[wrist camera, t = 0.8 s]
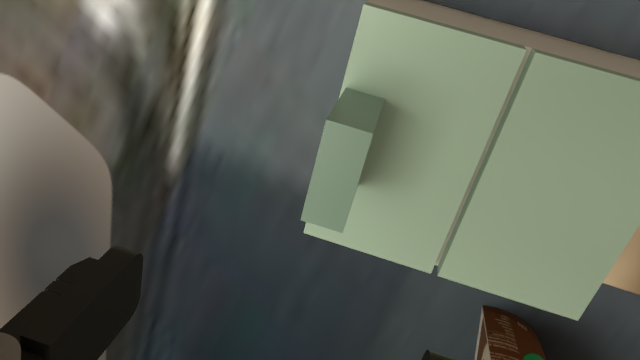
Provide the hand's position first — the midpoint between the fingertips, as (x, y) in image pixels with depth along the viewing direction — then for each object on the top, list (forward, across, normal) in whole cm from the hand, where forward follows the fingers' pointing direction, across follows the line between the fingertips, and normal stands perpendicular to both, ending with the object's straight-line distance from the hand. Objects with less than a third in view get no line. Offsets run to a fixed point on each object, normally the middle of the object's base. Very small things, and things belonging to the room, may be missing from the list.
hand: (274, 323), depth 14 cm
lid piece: (+16, -3, 0) cm, 16 cm away
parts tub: (+22, -7, 0) cm, 23 cm away
